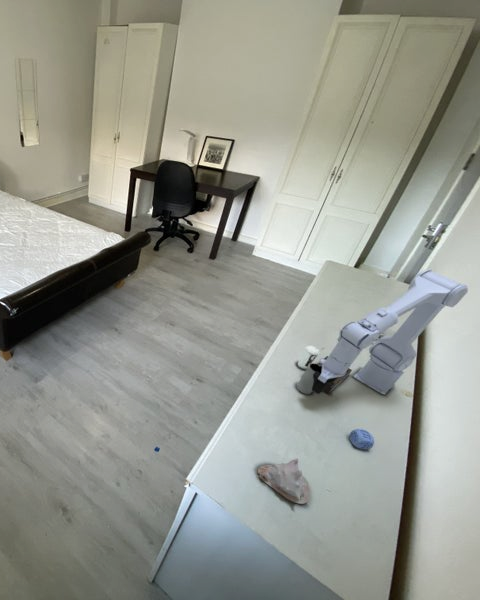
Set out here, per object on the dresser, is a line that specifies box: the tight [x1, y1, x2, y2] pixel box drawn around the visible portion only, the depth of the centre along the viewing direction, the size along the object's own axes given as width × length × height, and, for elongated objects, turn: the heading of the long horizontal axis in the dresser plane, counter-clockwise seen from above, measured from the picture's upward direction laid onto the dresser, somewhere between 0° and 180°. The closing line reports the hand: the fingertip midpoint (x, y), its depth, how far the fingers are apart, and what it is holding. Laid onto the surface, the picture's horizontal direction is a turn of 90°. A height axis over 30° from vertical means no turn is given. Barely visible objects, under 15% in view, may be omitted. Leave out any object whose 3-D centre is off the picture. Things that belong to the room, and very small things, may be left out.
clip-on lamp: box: [374, 328, 397, 342], centre depth 135 cm, size 12×6×18 cm
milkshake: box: [297, 345, 325, 370], centre depth 117 cm, size 4×5×10 cm
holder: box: [317, 355, 353, 395], centre depth 115 cm, size 8×16×3 cm, turn 124°
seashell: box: [257, 457, 310, 505], centre depth 81 cm, size 10×12×9 cm
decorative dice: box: [349, 428, 375, 450], centre depth 94 cm, size 4×4×4 cm
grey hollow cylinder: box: [296, 362, 322, 395], centre depth 108 cm, size 4×4×10 cm
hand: (320, 386), depth 106 cm, fingers open, 7 cm apart
